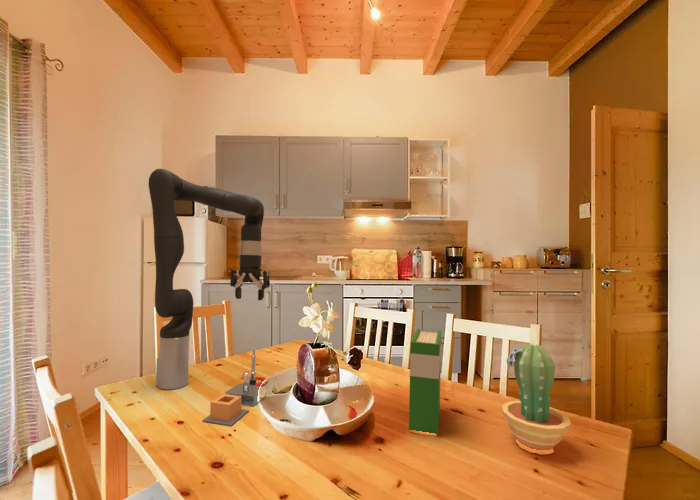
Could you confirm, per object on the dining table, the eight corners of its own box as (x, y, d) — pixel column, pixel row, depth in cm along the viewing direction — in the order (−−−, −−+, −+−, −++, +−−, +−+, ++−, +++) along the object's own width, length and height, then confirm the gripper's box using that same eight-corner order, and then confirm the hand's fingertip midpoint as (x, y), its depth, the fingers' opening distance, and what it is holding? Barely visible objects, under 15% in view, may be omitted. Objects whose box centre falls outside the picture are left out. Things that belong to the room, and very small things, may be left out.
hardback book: (415, 404, 109) (417, 328, 109) (439, 408, 107) (441, 330, 107) (408, 432, 92) (410, 341, 92) (437, 437, 90) (439, 344, 90)
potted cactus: (530, 425, 97) (532, 336, 97) (585, 456, 82) (587, 351, 83) (487, 435, 91) (489, 340, 92) (538, 469, 77) (540, 357, 77)
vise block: (218, 406, 105) (219, 378, 105) (238, 392, 115) (239, 366, 115) (248, 410, 102) (249, 381, 102) (266, 396, 113) (266, 370, 113)
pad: (202, 421, 95) (202, 420, 95) (222, 407, 104) (222, 406, 104) (231, 426, 93) (231, 424, 93) (248, 411, 101) (248, 410, 101)
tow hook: (246, 379, 128) (239, 388, 119) (248, 344, 129) (241, 350, 120) (269, 380, 128) (264, 388, 119) (270, 344, 129) (265, 350, 120)
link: (210, 418, 96) (210, 402, 96) (223, 409, 102) (223, 393, 102) (229, 421, 95) (229, 405, 95) (241, 411, 100) (241, 396, 100)
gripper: (226, 253, 121) (225, 299, 121) (263, 254, 117) (262, 302, 117) (238, 253, 128) (237, 297, 128) (273, 254, 125) (272, 299, 124)
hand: (249, 299), depth 123 cm, fingers open, 8 cm apart
